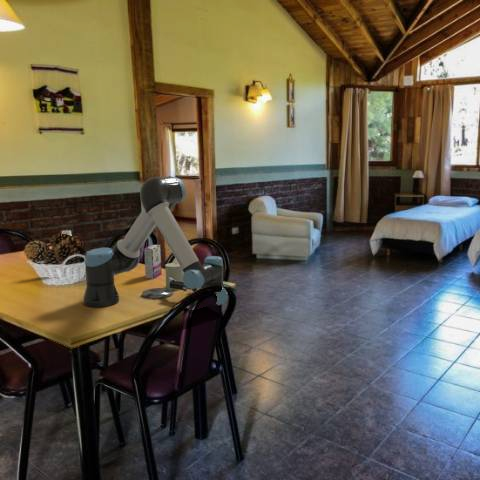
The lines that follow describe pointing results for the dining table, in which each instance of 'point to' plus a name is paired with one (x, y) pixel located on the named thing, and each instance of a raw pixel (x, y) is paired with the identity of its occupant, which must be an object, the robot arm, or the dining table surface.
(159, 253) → the candy bar box
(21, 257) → the dining table surface
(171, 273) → the can
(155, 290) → the flange plate
